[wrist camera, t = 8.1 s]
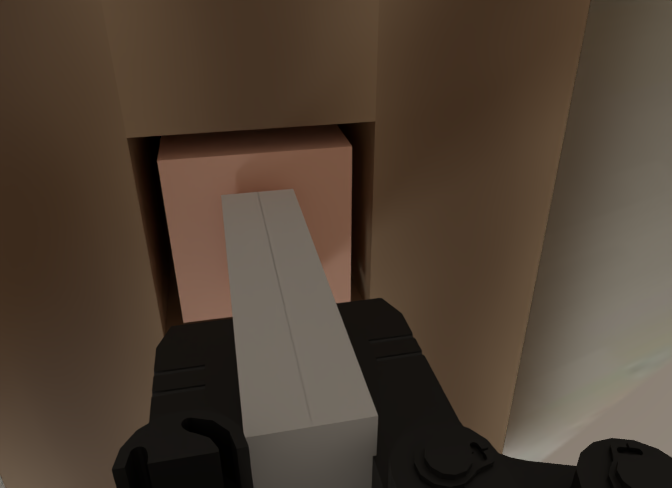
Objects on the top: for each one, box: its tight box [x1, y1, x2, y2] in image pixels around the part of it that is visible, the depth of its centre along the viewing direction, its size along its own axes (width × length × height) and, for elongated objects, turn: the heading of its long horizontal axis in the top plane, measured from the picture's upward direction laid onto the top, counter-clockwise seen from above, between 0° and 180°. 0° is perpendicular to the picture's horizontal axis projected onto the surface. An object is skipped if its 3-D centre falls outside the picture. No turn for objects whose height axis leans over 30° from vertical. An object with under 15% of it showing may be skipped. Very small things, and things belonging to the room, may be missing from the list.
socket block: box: [0, 0, 591, 488], centre depth 18 cm, size 14×24×6 cm, turn 0°
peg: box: [157, 124, 352, 323], centre depth 15 cm, size 4×4×6 cm
